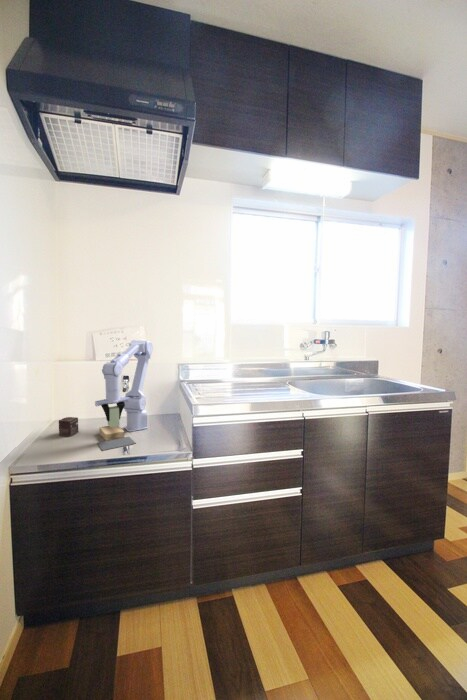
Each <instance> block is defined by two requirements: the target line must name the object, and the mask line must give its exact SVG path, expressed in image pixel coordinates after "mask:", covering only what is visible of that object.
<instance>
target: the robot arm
mask: <svg viewBox="0 0 467 700" xmlns="http://www.w3.org/2000/svg"><path fill="white" fill-rule="evenodd" d="M153 349H154V347H153V343H152V341H150V340H136V339H133V340H131V341H130V342H129V345H128V348H126V349H125V351H124V352H123V353H122V352H120V353H119V352H118V353H117V355H116V356H115V357H114V358H113V359H112V360H110V361H109V362H108V361H107V362H106V363H104V364H103V366H102V369H101V372H102V375H103V379H104V380H105V399H100V400H95V402H94V406H95V407H100V406H101V408H102V411H103V412H104V415H105V418H106V419H105V420H106V421H107V422H108V421H109V408H110V407H111V406H109V405H114V404H115V405H116V406H117V407H118V408H119V420H121V416H122V412H123V411H125V412H126V425H125V426H124V427H123V428H124V429H125V430H126V431H128V432H129V433H130V432H131V433H132V432H136V431H141V430H146V429H148V413H147V412H148V411H147V410H146V409H145V407H146V398H147V396H146V395H145V394H144V393H143V389H144V385H145V384H144V383H145V380H146V375H147V370H148V366H149V360H150V359H151V357H152V354H153ZM131 357H134V358H135V359H137V363H136V368H135V372H134V377H133V379H132V383H131V384H132V385H131V388H130V390H129V391H128V392H126V393H125V396H123V397H121V395H120V394H121V393H120V376H121V374H122V372H123V369H124V368H125V366H126V365H127V364H129V362H130V358H131Z"/></svg>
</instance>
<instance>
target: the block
mask: <svg viewBox="0 0 467 700" xmlns="http://www.w3.org/2000/svg"><path fill="white" fill-rule="evenodd" d="M109 407H110V408H109V421H107V426H109V427H115V426H119V427H120V419H119V408H118V407H117V405H114V406H109Z"/></svg>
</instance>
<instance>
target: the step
mask: <svg viewBox="0 0 467 700" xmlns="http://www.w3.org/2000/svg"><path fill="white" fill-rule="evenodd" d="M98 428H99V432H98V433H99V434H100V437H102V438H103V440H104V441H109V440H114V439H119V438H125V430H124V429H123V428H121V427H120V425H119V426H115V427H109V426H108V425H105V426H99V427H98Z"/></svg>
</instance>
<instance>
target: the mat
mask: <svg viewBox="0 0 467 700" xmlns="http://www.w3.org/2000/svg"><path fill="white" fill-rule="evenodd" d="M96 444H97V446H98V447H99V448H100V450H101V451H102V452H103V451H107V450H108V451H109V450H112V449H118V448H123V447H128V446H133V445H136V444H137V442H136V441H135V440H134V439H132V438H131V437H130V436H126V437H125V436H124V438H119V439H114V440H109V441H105V440H104V441H100V442H96Z"/></svg>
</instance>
